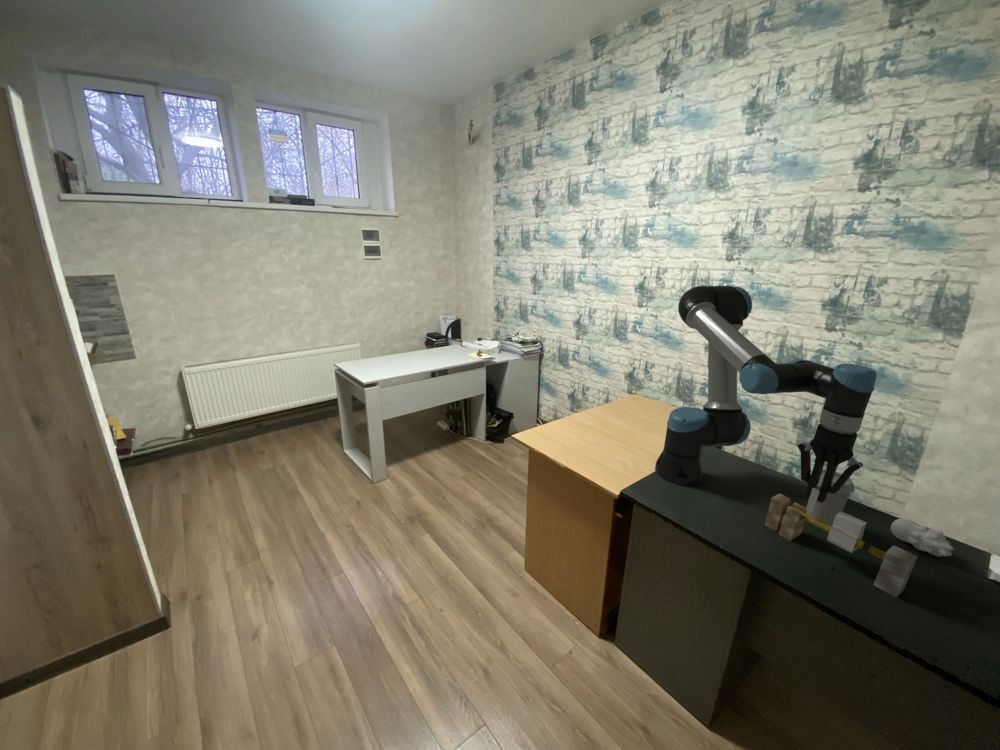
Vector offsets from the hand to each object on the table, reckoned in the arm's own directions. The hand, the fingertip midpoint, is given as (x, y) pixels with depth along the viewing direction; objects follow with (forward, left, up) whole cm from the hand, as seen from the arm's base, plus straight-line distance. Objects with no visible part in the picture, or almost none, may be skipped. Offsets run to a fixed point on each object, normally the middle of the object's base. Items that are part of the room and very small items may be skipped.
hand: (811, 509), depth 101 cm
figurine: (+16, +25, -10) cm, 31 cm away
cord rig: (+6, 0, -10) cm, 12 cm away
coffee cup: (-1, +13, -10) cm, 17 cm away
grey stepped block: (+8, 0, -5) cm, 9 cm away
